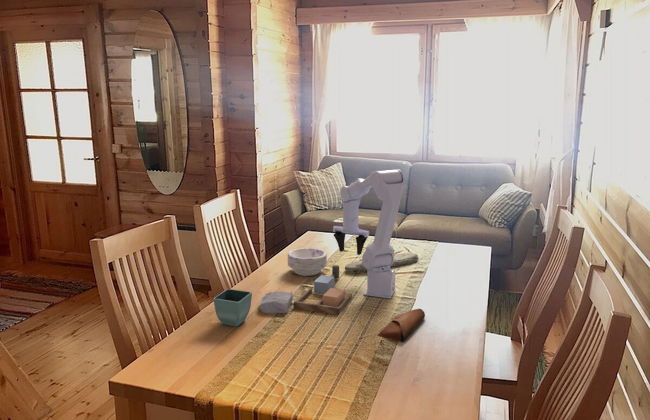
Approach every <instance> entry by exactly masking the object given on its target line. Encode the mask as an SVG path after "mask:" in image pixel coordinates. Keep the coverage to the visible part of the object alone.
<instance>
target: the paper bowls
mask: <svg viewBox="0 0 650 420" xmlns="http://www.w3.org/2000/svg"><path fill="white" fill-rule="evenodd" d="M327 259H328V255H327V252H326V251H325V250H322V249H319V248H315V247H313V248H312V247H301V248H295V249H291V250H289V251H288V252H287V266H288V267H289V268H290V269H292V271H294V274H295V275H299V276H303V277H306V276H307V277H311V276H316V275H318V274H320V273H321V271H322V270H323V269H324V268H326V267H327V265H328V264H327V262H328V260H327Z"/></svg>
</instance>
